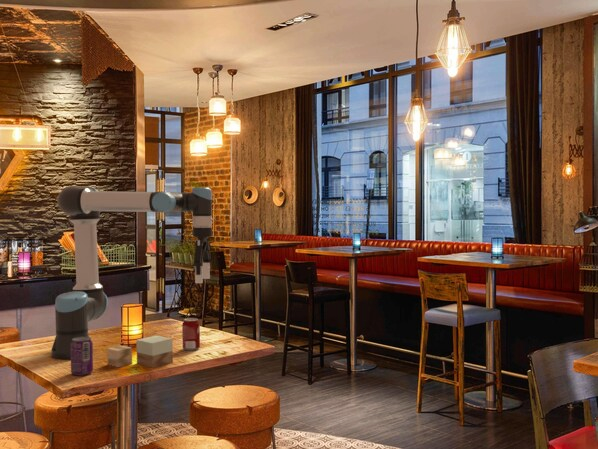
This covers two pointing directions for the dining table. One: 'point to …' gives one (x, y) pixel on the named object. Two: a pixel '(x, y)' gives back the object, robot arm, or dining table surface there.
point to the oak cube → (120, 356)
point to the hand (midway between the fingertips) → (202, 281)
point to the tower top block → (154, 345)
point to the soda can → (191, 334)
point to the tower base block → (155, 359)
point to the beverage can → (81, 356)
